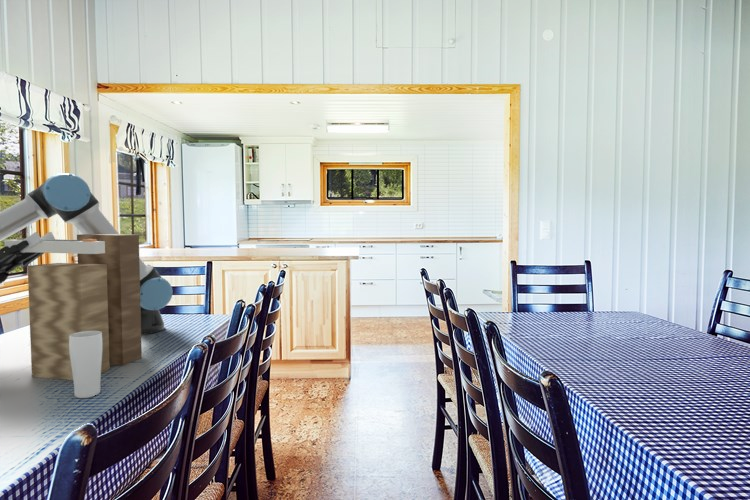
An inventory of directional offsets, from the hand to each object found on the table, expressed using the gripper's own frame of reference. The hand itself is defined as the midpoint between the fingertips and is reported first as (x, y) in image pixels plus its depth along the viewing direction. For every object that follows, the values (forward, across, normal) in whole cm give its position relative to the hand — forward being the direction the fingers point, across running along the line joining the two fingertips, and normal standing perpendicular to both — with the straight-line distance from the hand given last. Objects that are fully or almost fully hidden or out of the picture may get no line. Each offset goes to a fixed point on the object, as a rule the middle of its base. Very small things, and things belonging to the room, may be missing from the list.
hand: (45, 236), depth 123 cm
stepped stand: (-12, -6, -36) cm, 39 cm away
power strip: (0, 0, -5) cm, 5 cm away
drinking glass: (+1, +12, -44) cm, 46 cm away
